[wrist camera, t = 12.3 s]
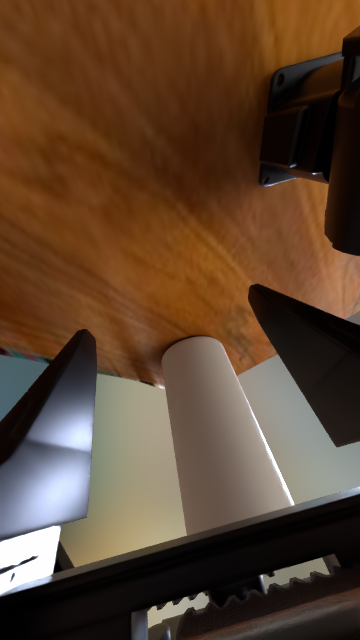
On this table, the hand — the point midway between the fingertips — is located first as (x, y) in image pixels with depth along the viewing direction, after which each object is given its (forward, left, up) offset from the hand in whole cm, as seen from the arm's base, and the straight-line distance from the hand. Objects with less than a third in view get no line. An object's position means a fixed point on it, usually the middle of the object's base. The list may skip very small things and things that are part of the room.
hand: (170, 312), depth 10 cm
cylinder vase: (-1, +24, -12) cm, 27 cm away
